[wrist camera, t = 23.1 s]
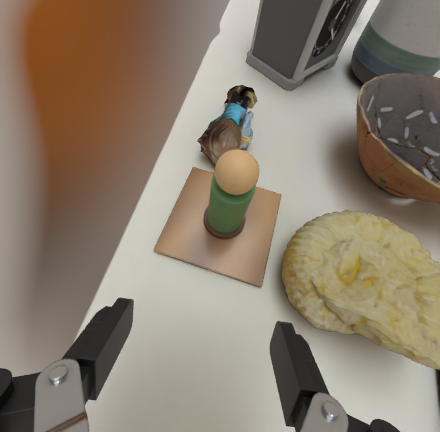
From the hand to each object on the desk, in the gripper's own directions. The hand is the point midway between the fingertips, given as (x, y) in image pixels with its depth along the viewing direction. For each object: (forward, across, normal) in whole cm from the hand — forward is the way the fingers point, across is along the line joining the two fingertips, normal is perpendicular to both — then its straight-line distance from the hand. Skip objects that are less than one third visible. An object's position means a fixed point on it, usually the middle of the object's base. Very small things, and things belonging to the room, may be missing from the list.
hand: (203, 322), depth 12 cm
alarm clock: (+50, -12, -30) cm, 59 cm away
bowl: (+29, -29, -10) cm, 43 cm away
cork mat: (+19, -1, +1) cm, 19 cm away
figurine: (+31, 0, -11) cm, 33 cm away
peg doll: (+19, -1, 0) cm, 19 cm away
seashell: (+14, -17, +6) cm, 23 cm away
